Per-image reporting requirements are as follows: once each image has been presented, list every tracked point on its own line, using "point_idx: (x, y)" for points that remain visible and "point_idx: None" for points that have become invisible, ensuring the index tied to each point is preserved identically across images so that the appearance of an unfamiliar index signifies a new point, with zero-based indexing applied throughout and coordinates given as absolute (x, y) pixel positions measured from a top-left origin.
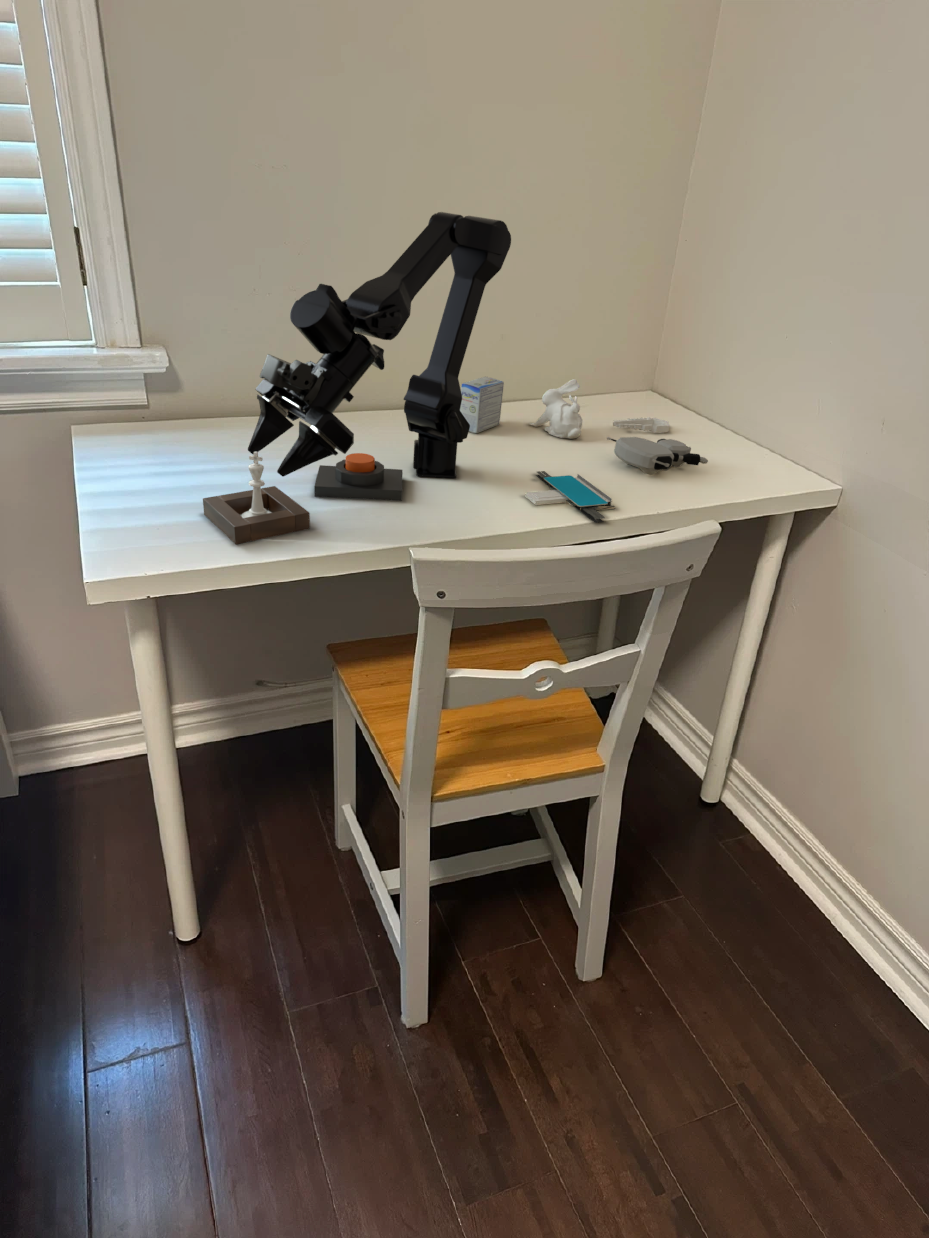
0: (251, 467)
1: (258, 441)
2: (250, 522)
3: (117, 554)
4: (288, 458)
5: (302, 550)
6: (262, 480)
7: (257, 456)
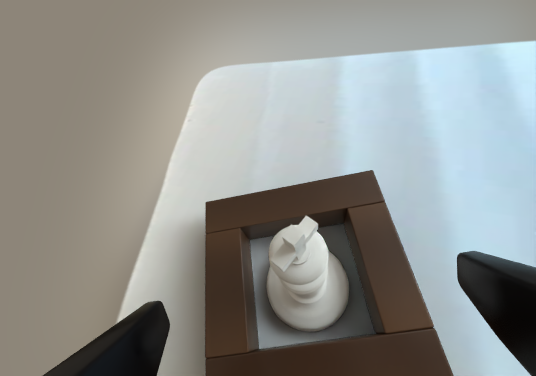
0: (283, 230)
1: (518, 310)
2: (212, 235)
3: (254, 82)
4: (70, 357)
5: None
6: (309, 288)
7: (292, 248)
